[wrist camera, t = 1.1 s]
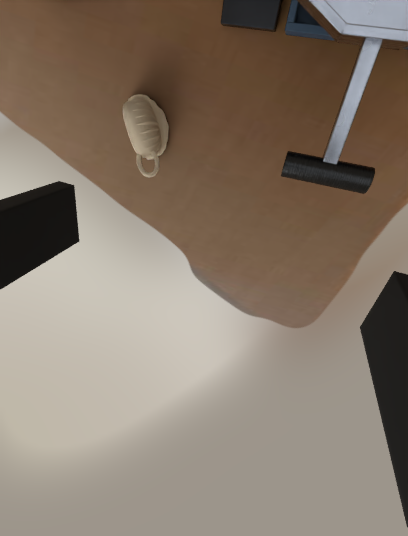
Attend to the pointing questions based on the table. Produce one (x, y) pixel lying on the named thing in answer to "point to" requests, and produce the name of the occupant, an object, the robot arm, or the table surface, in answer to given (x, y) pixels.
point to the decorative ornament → (146, 130)
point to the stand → (251, 14)
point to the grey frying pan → (350, 82)
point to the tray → (304, 23)
